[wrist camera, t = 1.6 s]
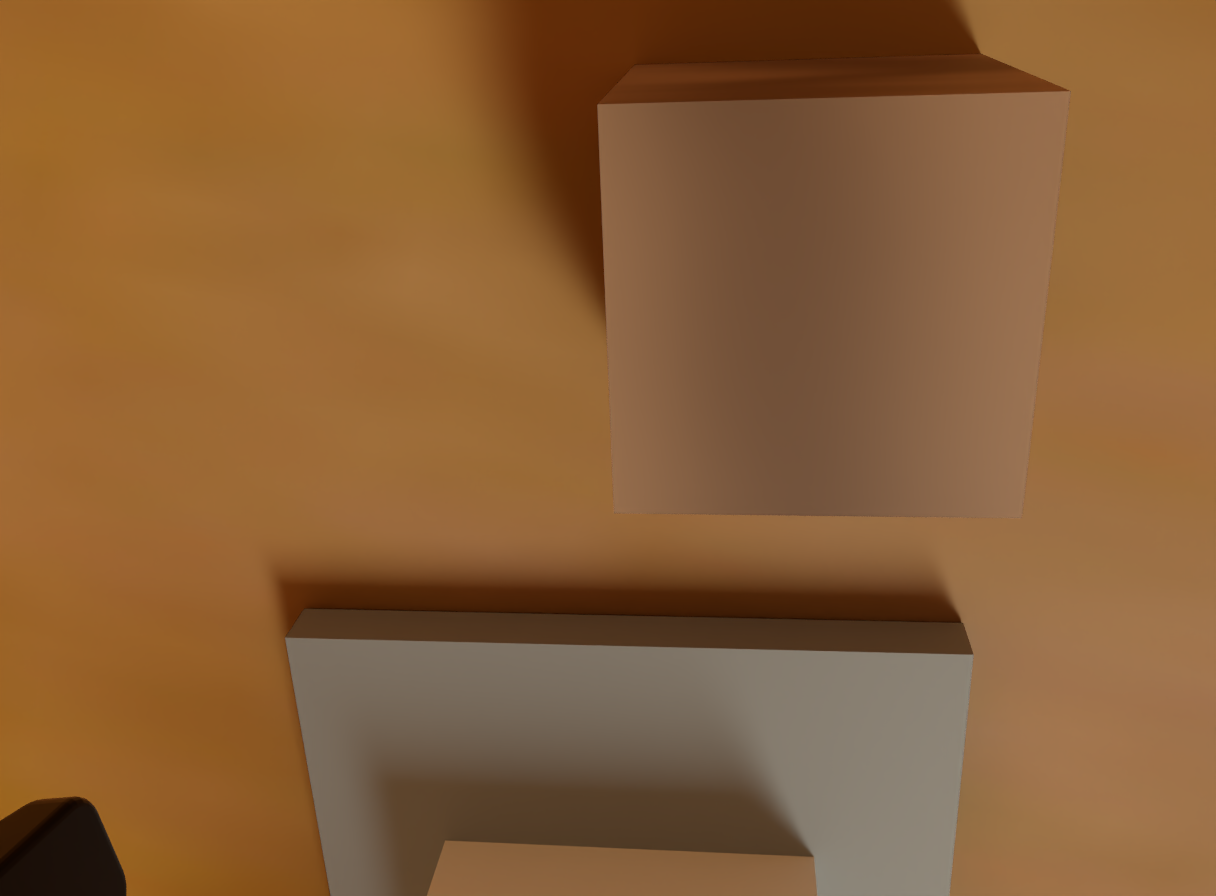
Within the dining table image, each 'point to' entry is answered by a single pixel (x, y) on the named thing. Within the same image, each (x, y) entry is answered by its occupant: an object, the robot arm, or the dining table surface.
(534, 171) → the dining table surface
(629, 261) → the walnut block
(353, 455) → the dining table surface
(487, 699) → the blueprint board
